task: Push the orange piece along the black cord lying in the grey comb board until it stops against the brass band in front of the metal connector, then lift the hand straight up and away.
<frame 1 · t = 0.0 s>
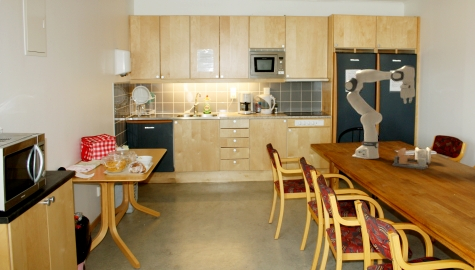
hand: (407, 103, 359), 48 cm above the table, tool pointing down, fingers open, 8 cm apart
orange piece: (404, 156, 350), point 7 cm above the table, slide at 0.0 cm
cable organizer: (422, 162, 363), on the table
comb board: (410, 166, 348), on the table
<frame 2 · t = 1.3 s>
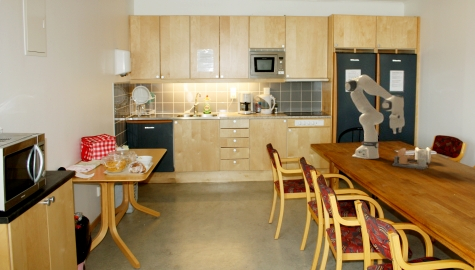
hand: (397, 133, 354), 25 cm above the table, tool pointing down, fingers open, 8 cm apart
nothing on the table moved.
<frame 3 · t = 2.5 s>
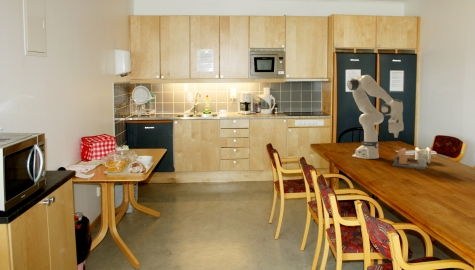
hand: (396, 137, 353), 22 cm above the table, tool pointing down, fingers closed
nothing on the table moved.
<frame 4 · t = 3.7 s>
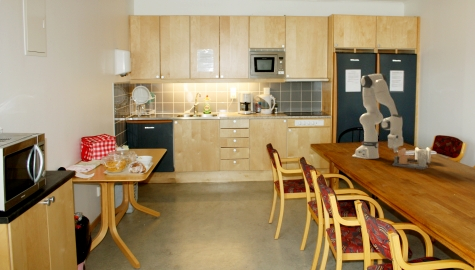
hand: (395, 152, 355), 10 cm above the table, tool pointing down, fingers closed
nothing on the table moved.
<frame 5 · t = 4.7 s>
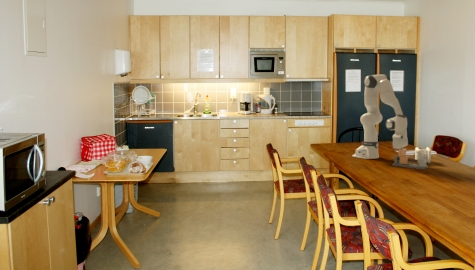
hand: (400, 152, 352), 10 cm above the table, tool pointing down, fingers closed, pressing on orange piece
orange piece: (405, 156, 350), point 7 cm above the table, slide at 0.4 cm, touching gripper
everything else where it was.
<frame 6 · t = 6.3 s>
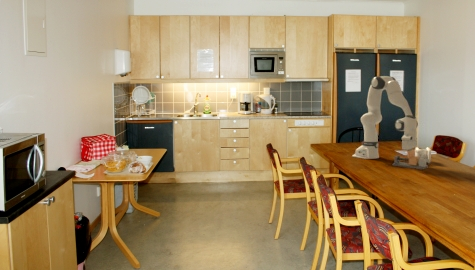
hand: (409, 154, 348), 10 cm above the table, tool pointing down, fingers closed, pressing on orange piece
orange piece: (414, 157, 345), point 7 cm above the table, slide at 7.5 cm, touching comb board, gripper
everything else where it was.
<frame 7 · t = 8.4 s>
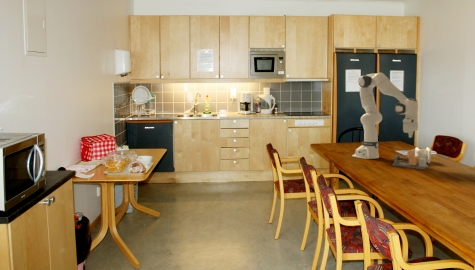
hand: (410, 137, 346), 23 cm above the table, tool pointing down, fingers closed
orange piece: (414, 157, 345), point 7 cm above the table, slide at 7.5 cm, touching comb board
everything else where it was.
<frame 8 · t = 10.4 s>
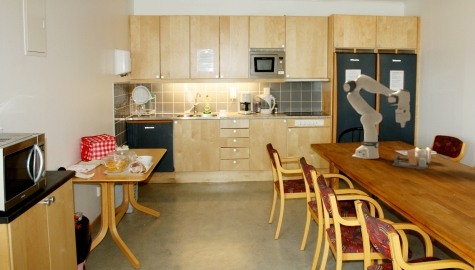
hand: (402, 127, 358), 29 cm above the table, tool pointing down, fingers closed
nothing on the table moved.
at the end: orange piece slide at 7.5 cm; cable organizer moved 0.3 cm from its start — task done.
